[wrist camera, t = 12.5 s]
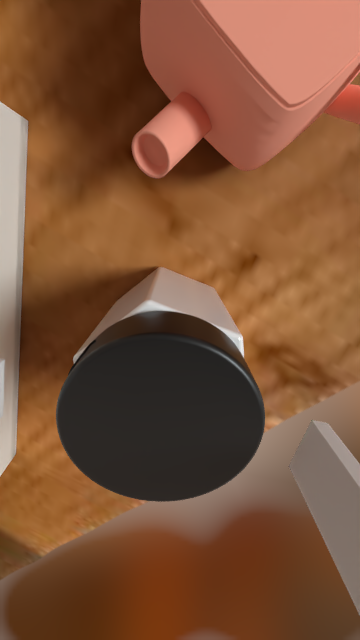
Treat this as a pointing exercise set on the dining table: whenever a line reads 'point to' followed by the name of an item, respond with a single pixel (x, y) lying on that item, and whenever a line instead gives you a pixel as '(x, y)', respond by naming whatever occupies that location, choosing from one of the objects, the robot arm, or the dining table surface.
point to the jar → (162, 394)
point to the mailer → (11, 267)
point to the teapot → (245, 75)
